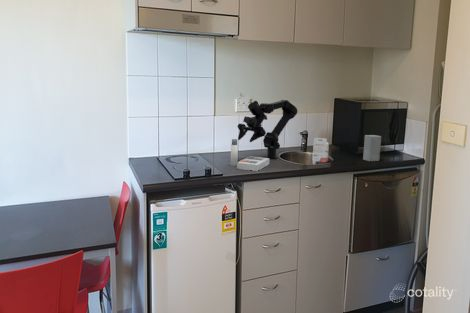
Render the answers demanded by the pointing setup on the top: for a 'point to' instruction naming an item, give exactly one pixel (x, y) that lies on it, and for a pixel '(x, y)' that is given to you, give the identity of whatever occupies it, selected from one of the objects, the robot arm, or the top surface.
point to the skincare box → (372, 148)
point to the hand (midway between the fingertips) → (244, 140)
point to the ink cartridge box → (320, 150)
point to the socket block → (253, 163)
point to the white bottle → (234, 152)
